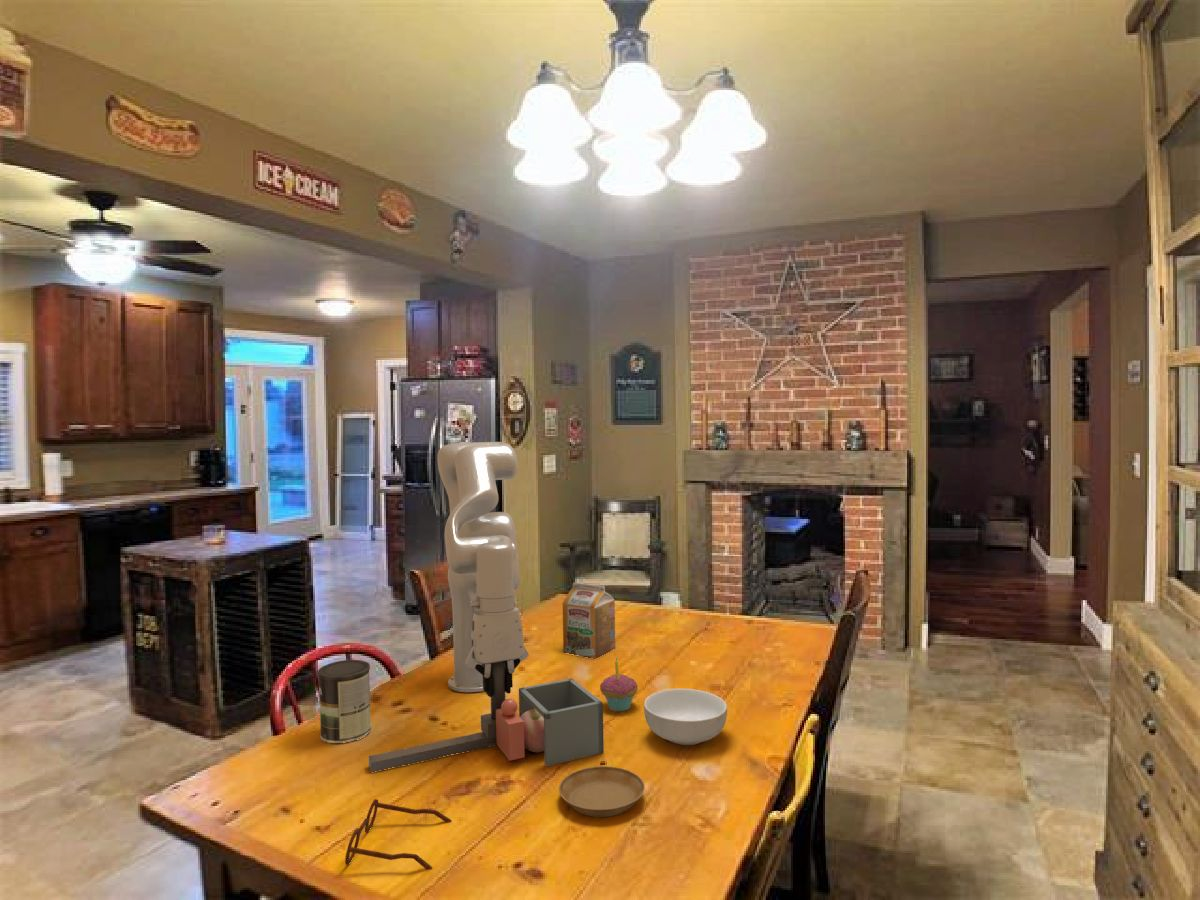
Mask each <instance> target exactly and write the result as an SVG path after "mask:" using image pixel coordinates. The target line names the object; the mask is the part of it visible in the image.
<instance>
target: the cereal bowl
mask: <svg viewBox="0 0 1200 900" xmlns="http://www.w3.org/2000/svg"><path fill="white" fill-rule="evenodd" d="M643 709H644V710H643V711H644V713H643V714H644V719H645V722H646V724H647V725H648V727H649V728H650V730H651V731H652V732H653V733H654V734H655V735H657V736H659V737H660V738H662V739H664V740H667V741H669V742H671V743H673V744H676V745H681V746H682V745H683V746H694V745H698V744H700V743H704V742H707V741H709V740H711V739H713V738H715V737H717V736H718V735H719V734H720V733H721V731H723V729H724V728H725V725H726V721H727V716H728V705H727V702H726V701H724V699H722V698H721V697H720V696H717V695H716V694H714V693H711V692H709V691H705V690H702V689H701V690H699V689H693V688H670V689H669V688H668V689H662V690H659V691H656V692H654V693H652V694H650V695H649V696H647V697H646V698H645V700H644V702H643Z"/></svg>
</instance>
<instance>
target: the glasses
mask: <svg viewBox="0 0 1200 900" xmlns="http://www.w3.org/2000/svg"><path fill="white" fill-rule="evenodd" d="M379 808H380V809H384V810H385V809H386V810H389V811H390V810H391V811H396V812H401V813H406V814H412V815H420V814H425V815H427V814H428V815H434V816H436V817H437V818H439V819H440V820H441V821H444V822H446V823H452V819H451V818H449V817H447V816H446V815H444V814H443V813H442V812H440V811H438V810H436V809H428V808H421V809H420V808H419V809H418V808H417V809H416V808H415V809H414V808H409V807H405V806H404V807H403V806H398V805H393V804H388V803H382V802H379V799H377V798H375V799H373V801H372V803H371V804H370V807H369V809H368V811H367V815H366V817H365V818H364V820H363V821H362V823H361V824H360V827H359V828H355V829H354V831H353V833H352V835H351V836H350V839H349V843H348V844H347V849H346V853H345V859H344V860H345V863H344V864H345V865H347V866H349V865H350V864H351V863H352V861H353V860H352V858H353V857H354V858H355V856H354V855H363V856H368V857H373V858H377V859H384V860H390V861H393V860H394V861H395V860H399V859H400V860H401V859H413V860H414V861H415V862H416V863H418V864H419V865H421V866H422V867H423V868H425V870H433V868H434V867H432V866H431V865H430V864H429V863H428V862H426V860H424V859H423V858H422V857H420V856H419V855H418V854H416V853H407V852H404V853H403V852H402V853H395V854H392V853H386V852H382V851H381V852H380V851H375V850H370V849H364V848H358V847H359V842H360V837H361V834H362V831H363V829H364V832H365V833H370V831H371V829H372V828H371V827H373V826H374V823H375V820H376V816H377V812H378V809H379ZM373 809H374V810H373ZM372 812H373V813H372ZM371 815H372V817H371ZM370 818H371V819H370ZM372 825H373V826H372ZM370 828H371V829H370ZM369 830H370V831H369ZM354 839H355V842H354ZM353 843H354V847H353V846H352V845H353ZM350 853H351V854H350ZM354 858H353V859H354ZM351 860H352V861H351ZM350 862H351V863H350ZM349 863H350V864H349Z"/></svg>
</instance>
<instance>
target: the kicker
mask: <svg viewBox="0 0 1200 900" xmlns="http://www.w3.org/2000/svg"><path fill="white" fill-rule="evenodd" d="M490 673H491V676H492V677H493V696H492V697H490V713H486V714H481V715H480V731H481V732H483V733H484V734H485V735H486V737H487V738H488V739H492V738H496V741H497V747H498V748H499V750H500V751H501V752H502V754H504V755H505V756H506V758H507V759H508V761H509V762H510V761H515V760H520V759H523V758H525V752H526V751H525V747H524V721H523V720H522V719H521V718H520V717H519V714H517V711H518V709H519V705H518V703H517V701H516V700H515V699H514V698H507V696H506V692H505V661H503V662H497V663H491V671H490ZM506 698H507V699H506Z"/></svg>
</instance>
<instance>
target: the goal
mask: <svg viewBox="0 0 1200 900" xmlns="http://www.w3.org/2000/svg"><path fill="white" fill-rule="evenodd" d="M530 709H535V710H536V711H537V712H538V713H539V714H540V715H541V716H542V717H544V751H543V753H544V766H545V767H550V766H556V765H559V764H562V763H567V762H571V761H575V759H576V760H580V759H583V757H584V758H589V757H592V756H596V755H599V754H600V753H601V754H604V753H605V751H604V750H605V749H604V743H605V742H604V702H603V701H602V700H600V699H599V698H597V697H596V696H595V695H594V694H593V693H591V692H590V691H589V690H587V689H586V687H584V686H582V684H580V683H578V681H576V680H575V679H574V678H571V677H570V678H567V679H562V680H555V681H551V682H545V683H540V684H534V685H529V686H524V687H519V688H518V711H519V713H518V716H519V717H521V716H522V714H523V713H525V712H526V711H528V710H530Z"/></svg>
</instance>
